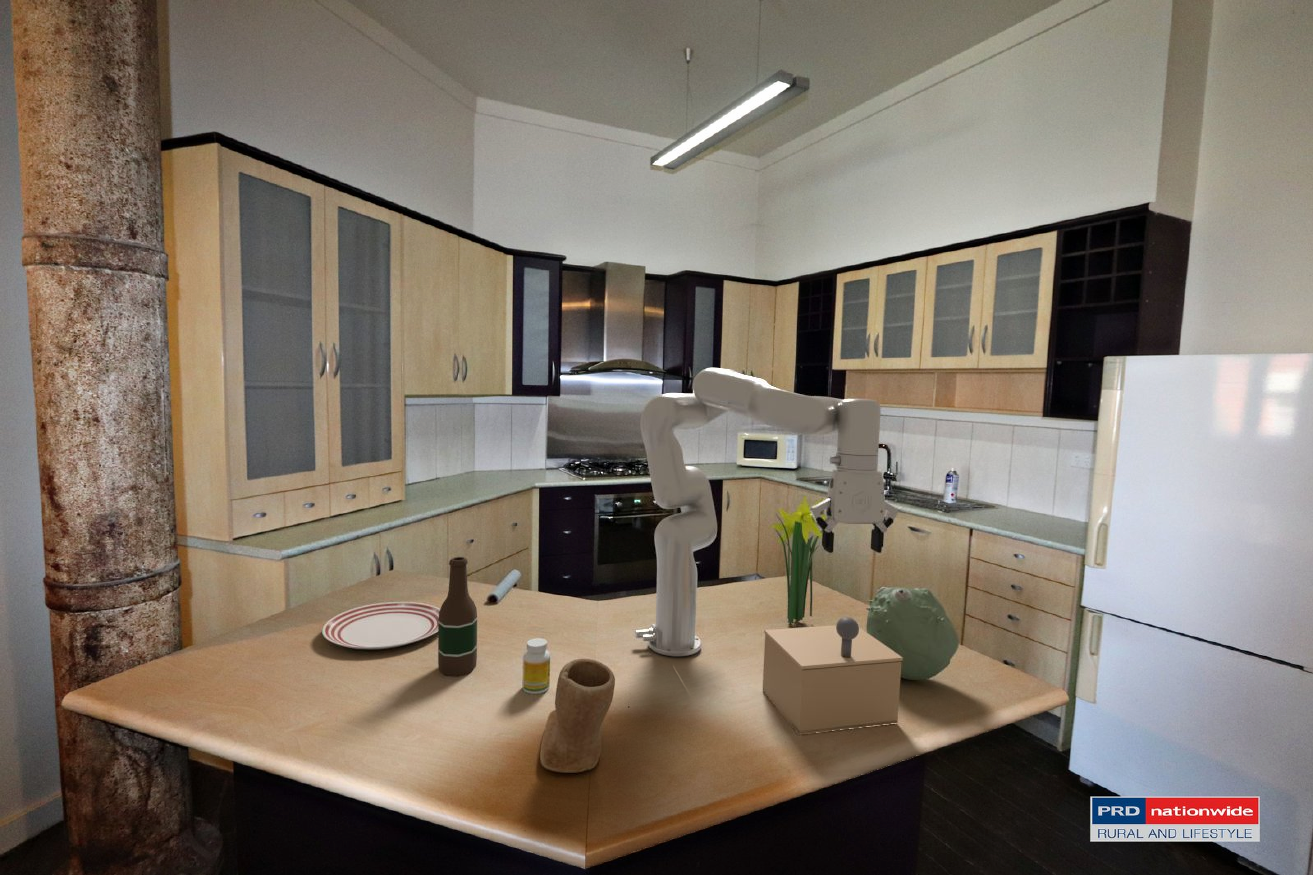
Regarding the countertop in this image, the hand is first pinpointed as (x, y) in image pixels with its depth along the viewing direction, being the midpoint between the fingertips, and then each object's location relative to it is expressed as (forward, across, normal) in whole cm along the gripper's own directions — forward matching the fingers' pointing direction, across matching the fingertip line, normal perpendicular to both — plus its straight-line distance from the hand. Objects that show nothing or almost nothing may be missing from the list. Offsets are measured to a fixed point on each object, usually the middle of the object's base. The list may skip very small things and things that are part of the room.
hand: (852, 551), depth 115 cm
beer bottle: (+30, -78, +18) cm, 85 cm away
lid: (+19, -5, +7) cm, 20 cm away
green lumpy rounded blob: (+31, +19, +10) cm, 38 cm away
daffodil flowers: (+31, +5, +43) cm, 53 cm away
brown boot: (+31, -52, -12) cm, 62 cm away
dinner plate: (+31, -99, +37) cm, 110 cm away
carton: (+31, -4, -1) cm, 31 cm away
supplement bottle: (+31, -61, +9) cm, 69 cm away
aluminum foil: (+31, -74, +67) cm, 104 cm away
